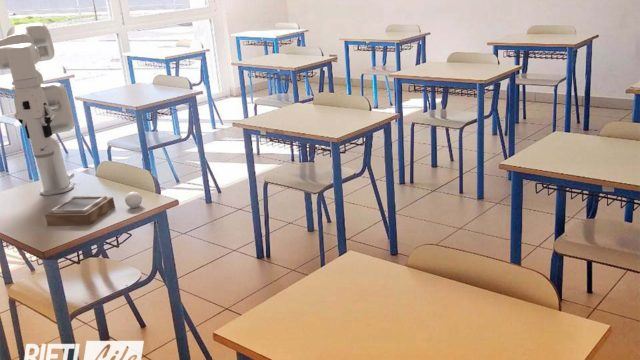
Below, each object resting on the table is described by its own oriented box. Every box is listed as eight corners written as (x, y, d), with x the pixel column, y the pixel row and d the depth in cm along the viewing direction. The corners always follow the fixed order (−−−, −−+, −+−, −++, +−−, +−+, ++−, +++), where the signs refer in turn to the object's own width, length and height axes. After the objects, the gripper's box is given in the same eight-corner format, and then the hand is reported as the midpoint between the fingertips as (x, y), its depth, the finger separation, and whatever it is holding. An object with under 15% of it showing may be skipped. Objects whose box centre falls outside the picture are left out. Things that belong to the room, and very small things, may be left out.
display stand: (75, 207, 229) (72, 194, 227) (115, 207, 224) (112, 194, 223) (47, 225, 214) (43, 212, 212) (89, 225, 210) (86, 211, 208)
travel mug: (47, 158, 214) (33, 99, 208) (30, 158, 216) (16, 100, 210) (59, 152, 220) (45, 95, 214) (42, 153, 222) (28, 96, 215)
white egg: (145, 207, 221) (141, 192, 220) (128, 211, 219) (125, 196, 217) (140, 201, 228) (137, 186, 226) (124, 205, 226) (121, 190, 224)
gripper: (-3, 87, 210) (11, 141, 215) (41, 84, 205) (54, 139, 210) (13, 83, 216) (26, 135, 222) (56, 80, 211) (68, 133, 217)
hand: (40, 136), depth 216 cm, fingers closed on travel mug, 6 cm apart
